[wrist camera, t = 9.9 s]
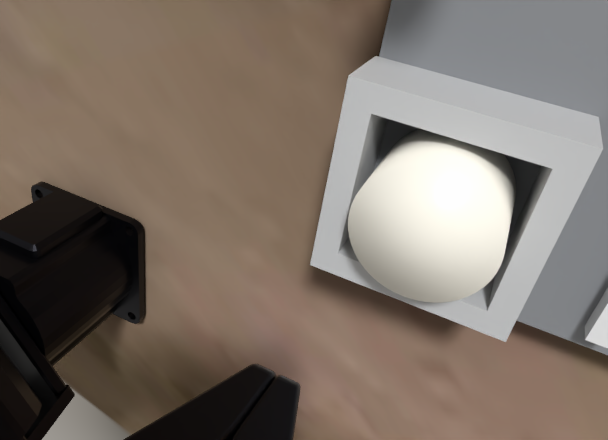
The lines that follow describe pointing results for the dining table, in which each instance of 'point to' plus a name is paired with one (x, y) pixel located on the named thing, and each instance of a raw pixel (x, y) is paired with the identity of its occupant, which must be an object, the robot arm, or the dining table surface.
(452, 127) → the panel
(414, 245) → the button
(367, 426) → the dining table surface
